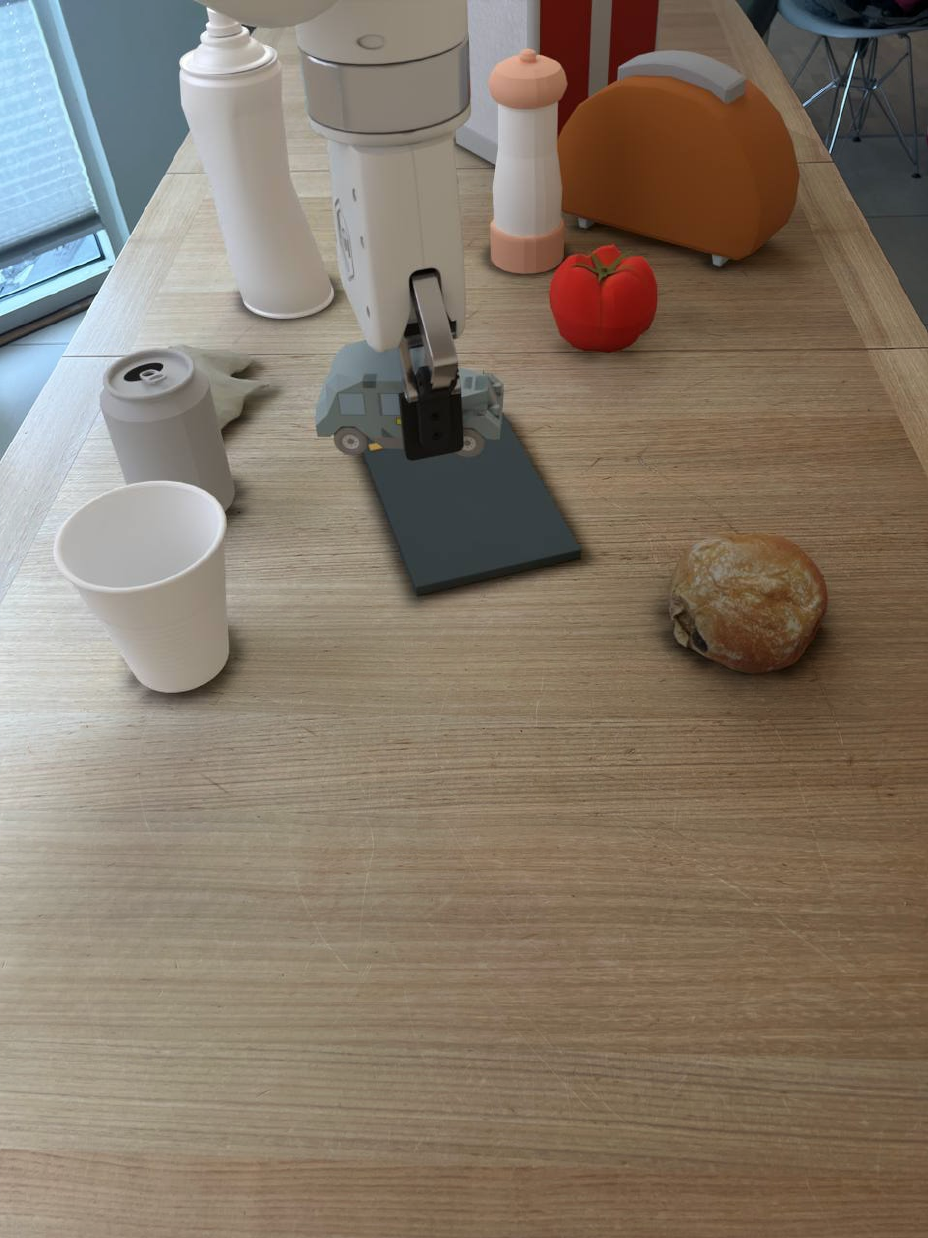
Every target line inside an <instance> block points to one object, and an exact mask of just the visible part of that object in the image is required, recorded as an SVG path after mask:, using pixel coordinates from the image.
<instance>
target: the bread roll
mask: <svg viewBox="0 0 928 1238" xmlns="http://www.w3.org/2000/svg"><path fill="white" fill-rule="evenodd" d="M824 577H825V575H824V574H822V572H821V571H820V568H819V567H818V566H817V563H815V561H814V560H813V559H812V558H811V557H810V556H809V554H807V553H806V551H804V549H802V548H801V547H800V546H799V544H797V543H795V542H794V541H792V540H791V539H788V538H786V537H785V536H783V535H780V534H764V533H763V532H752V533H750V534H725V535H716V536H711V537H708V538H707V537H706V538H705V539H702V540H700V541H698V542H696V543H695V544H693V545H692V546H691V547H690V548H689V549H687V550H686V551H685V552H684V553H683V555H682V556H681V557H680V558H679V560H678V562H677V563H676V565H675V567H674V569H673V572H672V574H671V577H670V579H669V586H668V589H669V597H668V598H669V599H668V601H669V606H668V607H669V608H668V612H669V615H670V619H671V622H672V623H673V625H674V628H673V637H674V638H675V640H676V641H677V644H680V645H681V646H683V647H684V648H689V649H691V650H693V651H695V652H697V653H698V654H700V655H701V656H703V657H705V658H706V659H709V660H711V661H713V662H716V663H718V664H721V665H723V666H725V667H727V668H729V669H730V670H733V671H738V672H741V673H745V674H753V675H755V674H765V673H771V672H774V671H778V670H781V669H782V670H783V669H785V668H787V667H789V666H791V665H794V664H795V663H797V661H798V660H799V659H800V658H801V656H803V654H804V652H805V651H806V649H807V648H808V647H809V645H810V644H811V643H812V641H813V640H814V638H815V637H816V635H817V631H818V630H819V628H820V627H821V625H822V622H823V620H824V617H825V616H826V613H827V609H828V603H829V602H828V601H829V599H828V589H827V583H826V581H825V579H824Z"/></svg>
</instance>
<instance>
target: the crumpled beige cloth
mask: <svg viewBox="0 0 928 1238" xmlns="http://www.w3.org/2000/svg"><path fill="white" fill-rule="evenodd" d="M167 348H168V349H173V350H178V351H181V352H183V353H185V354H187V355H189V356H190V357H191V358H192V360H193V361H194V362H195V367H196V368H198V369H200V370H202V371H203V373H204V374H205V375H206V376H207V378H208V381H209V385H210V389H211V393H212V397H213V401H214V405H215V410H216V414H217V418H218V422H219V426H220V430H221V431H222V430H223V429H224V428H225V427H226V426H227V425H228V424H229V423H230V422H232V421H233V420H235V419H238V418H239V417H240V415H241V413H242V411H243V408H244V402H245V399H246V398H248V397H249V396H251V395H253V394H254V393H256V392H258V391H260V390H263V389H266V388H268V387H269V386H270V385H271V382H269V381H260V380H252V379H243V378H242V379H241V378H236V377H232V375H234V374H237V373H242V372H243V371H244V370H245V369H247V368H248V367H249V366H251V364H253V362H255V359H254V357H252V356H251V355H250V354H248V353H242V352H241V353H240V352H236V351H233V350H229V349H206V348H198V347H192V346H188V345H185V344H179V345H173V346H171V345H170V346H168V347H167Z"/></svg>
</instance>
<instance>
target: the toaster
mask: <svg viewBox="0 0 928 1238" xmlns="http://www.w3.org/2000/svg"><path fill="white" fill-rule="evenodd" d="M557 151H558V159H559V167H560V175H561V182H562V202H561V213H564V214H567V215H570V216H572V217H573V216H574V217H577V219H578V226H579V228H581V229H585V230H587V229H588V228H589V227H591V226H592V225H594V224H595V223H598V224H601V225H605V226H609V227H612V228H616V229H620V230H624V231H627V232H630V233H634V234H637V235H641V236H645V237H649V238H652V239H655V240H658V241H659V240H660V241H663V242H667V243H670V244H674V245H678V246H681V247H684V248H688V249H692V250H695V251H700V252H702V253H706V254H710V255H711V257H712V264H713V266H716V267H722V266H723V265H724V264H725V263H726V262H728V260H734V261H740V260H742V259H744V258H746V257H748V256H750V255H752V254H754V253H755V252H756V251H758V250H759V249H760V248H761V247H762V246H763V245H764V244H765V243H767V242H768V241H769V240H770V239H771V238H772V237H774V235H776V234H777V233H778V232H779V231H781V230H782V229H783V228H784V227H785V226H786V225H787V224H788V223H789V221H790V219H791V216H792V214H793V213H794V212H793V211H794V209H795V207H796V204H797V197H798V191H799V183H800V176H801V173H800V169H799V165H798V160H797V156H796V151H795V146H794V142H793V139H792V137H791V134H790V132H789V130H788V128H787V124H786V123H785V120H784V118H783V116H782V113H781V112H780V110H778V108H776V106H775V105H774V104H773V102H772V101H771V100H770V99H769V98H768V96H766V94H765V93H764V92H763V91H762V90H761V89H760V88H759V87H757V86H756V85H755V84H754V83H753V82H752V81H750V80H749V79H748V78H747V77H746V76H745V75H744V74H742V72H740V71H738V70H736V69H734V68H732V67H731V66H729V65H728V64H727V63H724V62H722V61H719V60H717V59H715V58H713V57H711V56H708V55H706V54H705V55H704V54H701V53H698V52H694V51H689V50H677V49H671V50H668V49H667V50H658V51H655V52H651V53H647V54H642V55H638V56H637V57H635V58H633V59H631V60H630V61H628V62H626V63H624V64H623V65H621V66H619V67H618V79H617V81H615V82H613V83H612V84H610V85H608V86H607V87H605V88H603V89H601V90H600V91H598V92H597V93H595V94H594V95H592V96H591V97H589V98H588V99H586V100H585V101H583V102H582V103H581V104H579V105H578V107H577V108H576V110H575V111H574V113H573V114H572V115H571V117H570V118H569V120H568V121H567V123H566V124H565V126H564V127H563V129H562V131H561V133H560V136H559V138H558V140H557Z"/></svg>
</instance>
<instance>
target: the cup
mask: <svg viewBox="0 0 928 1238" xmlns="http://www.w3.org/2000/svg"><path fill="white" fill-rule="evenodd" d="M227 528H228V525H227V515H226V513H225V512H224V510H223V508H222V506H221V505H220V503H219V502H218V501H217V500H216V498H215V497H213V496H212V495H211V494H209V493H208V492H206V491H205V490H203V489H200V488H198V487H196V486H193V485H189V484H186V483H182V482H173V481H148V482H141V483H134V484H130V485H126V484H125V485H123V486H118V487H115V488H113V489H111V490H109V491H106V492H104V493H102V494H100V495H97V496H96V497H93V498H92V499H90V500H88V501H86V502H85V503H84V504H83V505H81V506H80V507H78V508H77V509H76V510H75V511H74V512H73V513H71V515H69V517H67V519H66V520H65V521H64V523H63V524H62V525H61V526H60V528H59V529H58V531H57V534H56V536H55V538H54V541H53V547H52V548H53V549H52V555H53V559H54V560H53V561H54V565H55V566H56V568H57V570H58V571H59V573H60V574H61V576H63V577H64V578H65V579H66V580H67V581H68V582H69V583H71V584H72V585H73V587H74V588H75V590H76V591H77V593H78V594H79V596H80V597H81V598H82V600H83V602H84V603H85V604H86V606H87V607H88V609H89V610H90V611H91V613H92V614H93V615H94V617H95V619H96V620H97V621H98V623H99V624H100V626H101V627H102V629H103V630H104V632H105V633H106V634H107V636H108V638H109V639H110V641H111V642H112V643H113V644H114V646H115V649H117V650H118V652H119V653H120V655H121V656H122V658H123V659H124V661H125V663H126V664H127V666H128V667H129V668H130V670H131V672H132V673H133V675H134V676H135V677H136V679H137V680H138V681H139V682H140V683H141V684H142V685H143V686H144V687H146V688H148V689H150V690H153V691H156V692H159V693H165V694H166V693H167V694H168V693H171V694H172V693H183V692H189V691H191V690H192V691H193V690H195V689H198V688H199V687H202V686H204V685H205V684H207V683H208V682H210V681H212V680H213V679H214V678H216V676H217V675H219V673H220V672H221V671H222V670H223V668H224V667H225V665H226V663H227V661H228V659H229V655H230V643H229V642H230V640H229V639H230V638H229V622H228V620H229V619H228V603H227V582H226V580H227V579H226V560H225V558H226V557H225V537H226V533H227Z"/></svg>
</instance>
